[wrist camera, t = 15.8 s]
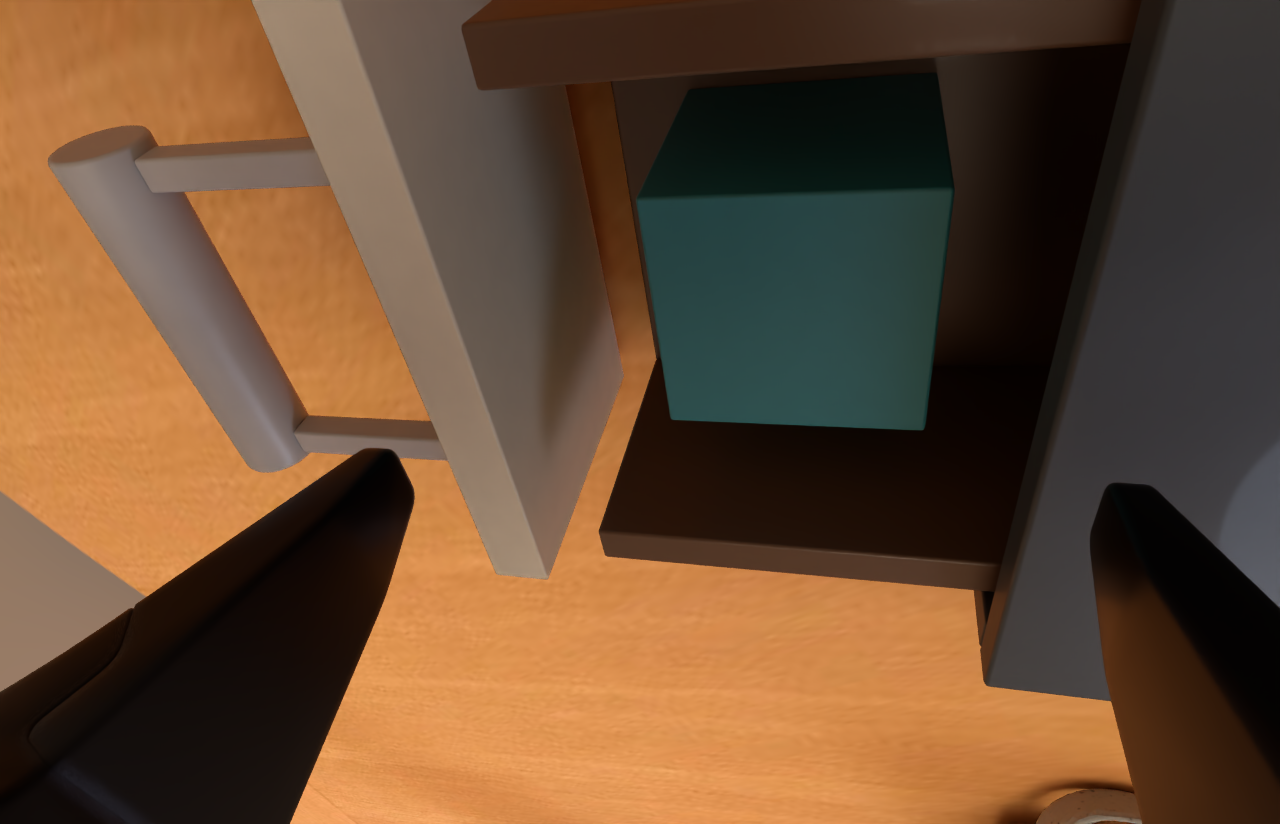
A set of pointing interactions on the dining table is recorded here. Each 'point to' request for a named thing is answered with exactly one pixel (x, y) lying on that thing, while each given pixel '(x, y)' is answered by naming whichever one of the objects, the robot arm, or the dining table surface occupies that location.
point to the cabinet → (1158, 340)
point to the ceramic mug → (1092, 808)
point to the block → (801, 251)
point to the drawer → (572, 272)
